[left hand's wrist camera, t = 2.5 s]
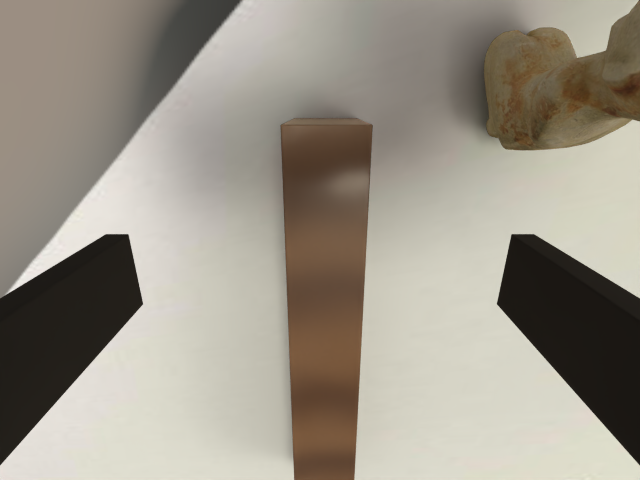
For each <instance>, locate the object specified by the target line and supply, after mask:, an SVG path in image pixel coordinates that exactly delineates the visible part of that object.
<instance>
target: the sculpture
mask: <svg viewBox="0 0 640 480" xmlns="http://www.w3.org/2000/svg"><path fill="white" fill-rule="evenodd" d="M484 79H485V89H486V97H487V103H488V110H489V119H488V120H487V123H486V128H487V131H488V134H489V135H490V136H492V137H495V138H499V140H500V142H501V144H502V146H503V147H504V148H505V149H508V150H545V149H556V148H567V147H572V146H577V145H582V144H586V143H589V142H592V141H594V140H597V139H599V138H601V137H603V136H605V135H607V134H609V133H611V132H613V131H615V130H617V129H619V128H620V127H622V126H624V125H626V124H627V123H629V122H630V121H631V120H632V119H633V120H637V121H640V0H639V1H638V3H637V4H636V5H635V6H634V8H633V9H632V10H631V11H630V13H629V14H627V15H625V16H624V17H622V18H620V19H619V20H617V21H616V22H615V23H614V24H613V26H612V28H611V32H610V36H609V41H608V46H607V50H606V51H603V52H600V53H597V54H593V55H589V56H585V57H580V58H577V57H576V54H575V51H574V49H573V46H572V44H571V41H570V39H569V37H568V36H567V34H566V33H564V32H563V31H561V30H559V29H556V28H538V29H536V30H533V31H531V32H529V33H528V34H527V35H524V34H522V33H521V32H520V31H519V30H514V31H508V32H504V33H502V34H501V35H499V36H498V37H496V38H495V39H494V40H493V41H492V43H491V45H490V46H489V48H488V51H487V53H486V57H485V61H484Z"/></svg>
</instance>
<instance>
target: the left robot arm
mask: <svg viewBox="0 0 640 480" xmlns="http://www.w3.org/2000/svg"><path fill="white" fill-rule="evenodd" d="M142 305H143V302H142V297H141V292H140V287H139V283H138V278H137V273H136V268H135V264H134V259H133V254H132V249H131V245H130V240H129V235H128V234H106V235H104V236H102V237H101V238H99V239H97V240H96V241H94V242H93V243H91V244H89V245H88V246H86V247H84V248H83V249H81V250H79V251H78V252H76V253H74V254H73V255H71V256H69V257H68V258H66V259H65V260H63V261H61V262H60V263H58V264H56V265H55V266H53V267H51V268H50V269H48V270H46V271H45V272H43V273H41V274H40V275H38V276H36V277H35V278H33V279H32V280H30V281H28V282H27V283H25V284H23V285H22V286H20V287H18V288H17V289H15V290H13V291H12V292H10V293H8V294H7V295H5V296H4V297H2V298H0V465H1V464H2V463H3V461H4V460H5V459H6V458H7V457H8V456H9V455H10V454H11V452H12V451H13V450H14V449H15V448H16V447H17V446H18V445H19V443H20V442H21V441H22V440H23V439H24V438H25V437H26V436H27V434H28V433H29V432H30V431H31V430H32V429H33V428H34V427H35V425H36V424H37V423H38V422H39V421H40V420H41V419H42V418H43V416H44V415H45V414H46V413H47V412H48V411H49V410H50V408H51V407H52V406H53V405H54V404H55V403H56V402H57V401H58V399H59V398H60V397H61V396H62V395H63V394H64V393H65V392H66V390H67V389H68V388H69V387H70V386H71V385H72V384H73V383H74V381H75V380H76V379H77V378H78V377H79V376H80V375H81V374H82V372H83V371H84V370H85V369H86V368H87V367H88V366H89V365H90V363H91V362H92V361H93V360H94V359H95V358H96V357H97V355H98V354H99V353H100V352H101V351H102V350H103V349H104V348H105V346H106V345H107V344H108V343H109V342H110V341H111V340H112V339H113V337H114V336H115V335H116V334H117V333H118V332H119V331H120V330H121V328H122V327H123V326H124V325H125V324H126V323H127V322H128V321H129V319H130V318H131V317H132V316H133V315H134V314H135V313H136V311H137V310H138V309H139V308H140V307H141V306H142ZM497 305H498V306H499V307H500V308H501V309H502V310H503V311H504V313H505V314H506V315H507V316H508V317H509V318H510V319H511V321H512V322H513V323H514V324H515V325H516V326H517V327H518V328H519V330H520V331H521V332H522V333H523V334H524V335H525V336H526V337H527V339H528V340H529V341H530V342H531V343H532V344H533V345H534V346H535V348H536V349H537V350H538V351H539V352H540V353H541V354H542V355H543V357H544V358H545V359H546V360H547V361H548V362H549V363H550V365H551V366H552V367H553V368H554V369H555V370H556V371H557V372H558V374H559V375H560V376H561V377H562V378H563V379H564V380H565V381H566V383H567V384H568V385H569V386H570V387H571V388H572V389H573V390H574V392H575V393H576V394H577V395H578V396H579V397H580V398H581V399H582V401H583V402H584V403H585V404H586V405H587V406H588V407H589V408H590V410H591V411H592V412H593V413H594V414H595V415H596V416H597V418H598V419H599V420H600V421H601V422H602V423H603V424H604V425H605V427H606V428H607V429H608V430H609V431H610V432H611V433H612V434H613V436H614V437H615V438H616V439H617V440H618V441H619V442H620V443H621V445H622V446H623V447H624V448H625V449H626V450H627V451H628V452H629V454H630V455H631V456H632V457H633V458H634V459H635V460H636V461H637V463H638V464H639V465H640V298H638V297H636V296H635V295H633V294H632V293H630V292H628V291H627V290H625V289H623V288H622V287H620V286H618V285H617V284H615V283H613V282H612V281H610V280H608V279H607V278H605V277H604V276H602V275H600V274H599V273H597V272H595V271H594V270H592V269H590V268H589V267H587V266H585V265H584V264H582V263H580V262H579V261H577V260H575V259H574V258H572V257H571V256H569V255H567V254H566V253H564V252H562V251H561V250H559V249H557V248H556V247H554V246H552V245H551V244H549V243H547V242H546V241H544V240H543V239H541V238H539V237H538V236H536V235H534V234H512V235H511V240H510V245H509V249H508V254H507V259H506V264H505V268H504V273H503V278H502V283H501V287H500V292H499V297H498V302H497Z"/></svg>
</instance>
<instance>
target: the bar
mask: <svg viewBox="0 0 640 480" xmlns="http://www.w3.org/2000/svg"><path fill="white" fill-rule="evenodd" d="M281 146H282V172H283V198H284V224H285V250H286V276H287V302H288V328H289V353H290V379H291V405H292V431H293V457H294V480H354V474H355V455H356V436H357V416H358V397H359V378H360V358H361V339H362V320H363V300H364V281H365V262H366V242H367V223H368V204H369V184H370V165H371V146H372V125H371V124H369V123H367V122H364V121H362V120H360V119H357V118H294V119H292V120H290V121H288V122H286V123H284V124H282V125H281Z"/></svg>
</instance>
